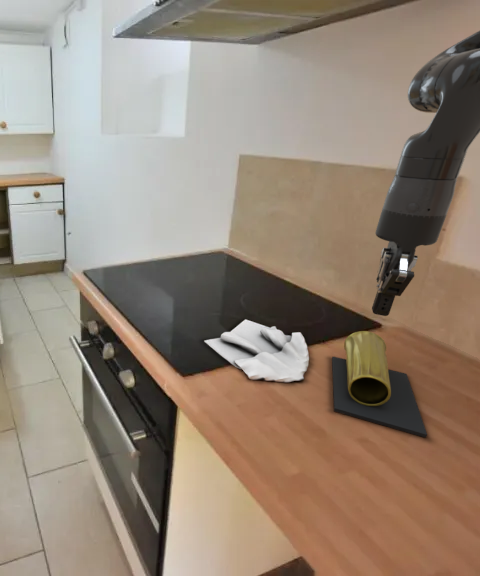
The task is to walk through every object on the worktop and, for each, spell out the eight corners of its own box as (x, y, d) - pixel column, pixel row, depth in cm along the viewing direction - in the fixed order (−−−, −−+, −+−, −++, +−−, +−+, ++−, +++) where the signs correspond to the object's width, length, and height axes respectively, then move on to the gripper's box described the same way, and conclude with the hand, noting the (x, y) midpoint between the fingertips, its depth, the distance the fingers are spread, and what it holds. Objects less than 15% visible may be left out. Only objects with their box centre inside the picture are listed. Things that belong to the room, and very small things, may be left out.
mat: (405, 376, 65) (406, 373, 65) (426, 438, 52) (427, 434, 52) (331, 358, 70) (332, 356, 70) (333, 411, 57) (334, 408, 57)
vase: (347, 362, 70) (349, 408, 59) (340, 332, 69) (340, 374, 57) (389, 360, 66) (398, 409, 55) (382, 328, 65) (390, 372, 54)
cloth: (249, 390, 61) (252, 378, 60) (189, 326, 81) (191, 316, 80) (354, 373, 66) (358, 362, 65) (273, 316, 85) (275, 307, 84)
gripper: (460, 220, 49) (415, 336, 56) (435, 203, 60) (400, 303, 66) (389, 214, 52) (355, 324, 59) (378, 199, 63) (350, 294, 70)
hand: (379, 313), depth 63 cm, fingers closed
